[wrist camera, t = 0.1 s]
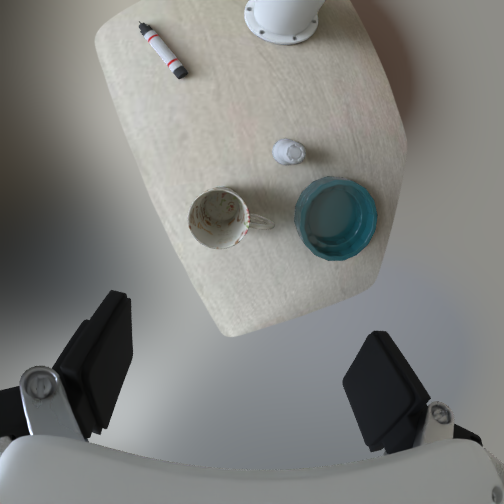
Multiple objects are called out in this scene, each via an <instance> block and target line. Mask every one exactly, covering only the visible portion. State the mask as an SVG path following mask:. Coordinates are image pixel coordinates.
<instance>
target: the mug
mask: <svg viewBox="0 0 504 504" xmlns="http://www.w3.org/2000/svg"><path fill="white" fill-rule="evenodd" d="M250 218H252V219H255V220H259V221H262V222H264V223H266V224H258V223H253V222H250ZM188 225H189V229H190V231H191V233H192V235H193V236H194V238H195V239H196V240H197V241H198V242H199V243H201V244H202V245H204V246H206V247H209V248H213V249H226V248H229V247H232V246H234V245H236V244H237V243H239V242H240V241H241V240H242V239H243V238H244V236H245V235H246V233H247V231H248V229H249V227H250V228H255V229H261V230H269V229H272V228H274V223H273V222H272V221H271V220H269V219H267V218H265V217H262V216H259V215H256V214H250V213H249V209H248V207H247V205H246V203H245V201H244V200H243V199H242V198H241V197H240V196H239V195H238V194H237V193H236V192H235V191H233V190H232V189H230V188H227V187H216V188H213V189H210V190H207V191H205V192H203V193H202V194H200V195H199V196H198V197H197V198H196V199H195V200H194V201H193V203H192V204H191V206H190V209H189V212H188Z"/></svg>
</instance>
